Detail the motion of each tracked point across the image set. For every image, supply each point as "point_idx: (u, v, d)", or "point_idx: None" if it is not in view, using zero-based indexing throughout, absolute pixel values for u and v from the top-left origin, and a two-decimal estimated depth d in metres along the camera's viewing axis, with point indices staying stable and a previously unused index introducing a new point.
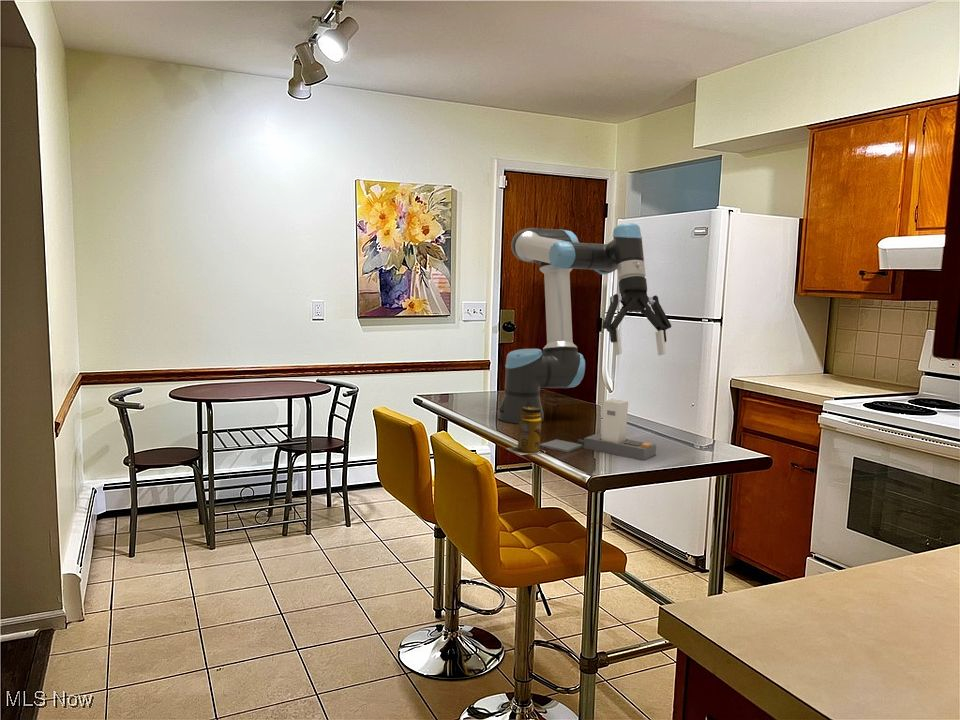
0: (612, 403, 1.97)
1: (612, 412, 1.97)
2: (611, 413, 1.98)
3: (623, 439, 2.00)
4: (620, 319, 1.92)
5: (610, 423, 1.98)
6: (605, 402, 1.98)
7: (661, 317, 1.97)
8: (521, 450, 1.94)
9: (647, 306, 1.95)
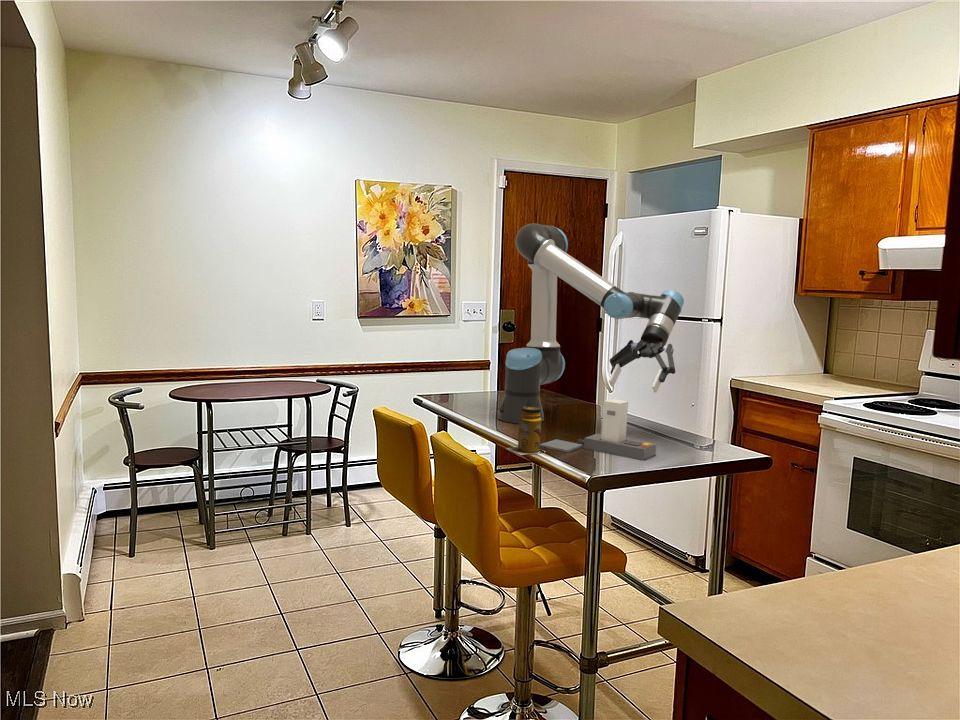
0: (612, 403, 1.97)
1: (612, 412, 1.97)
2: (611, 413, 1.98)
3: (623, 439, 2.00)
4: None
5: (610, 423, 1.98)
6: (605, 402, 1.98)
7: (621, 358, 2.16)
8: (521, 450, 1.94)
9: None
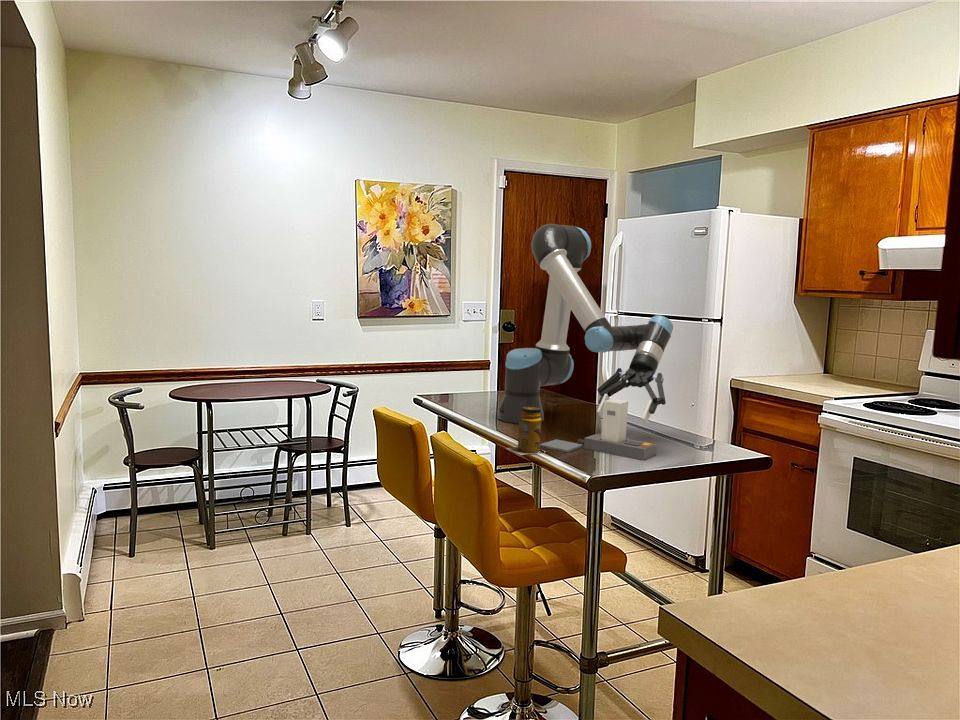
0: (612, 403, 1.97)
1: (612, 412, 1.97)
2: (611, 413, 1.98)
3: (623, 439, 2.00)
4: None
5: (610, 423, 1.98)
6: (605, 402, 1.98)
7: (609, 387, 2.10)
8: (521, 450, 1.94)
9: None
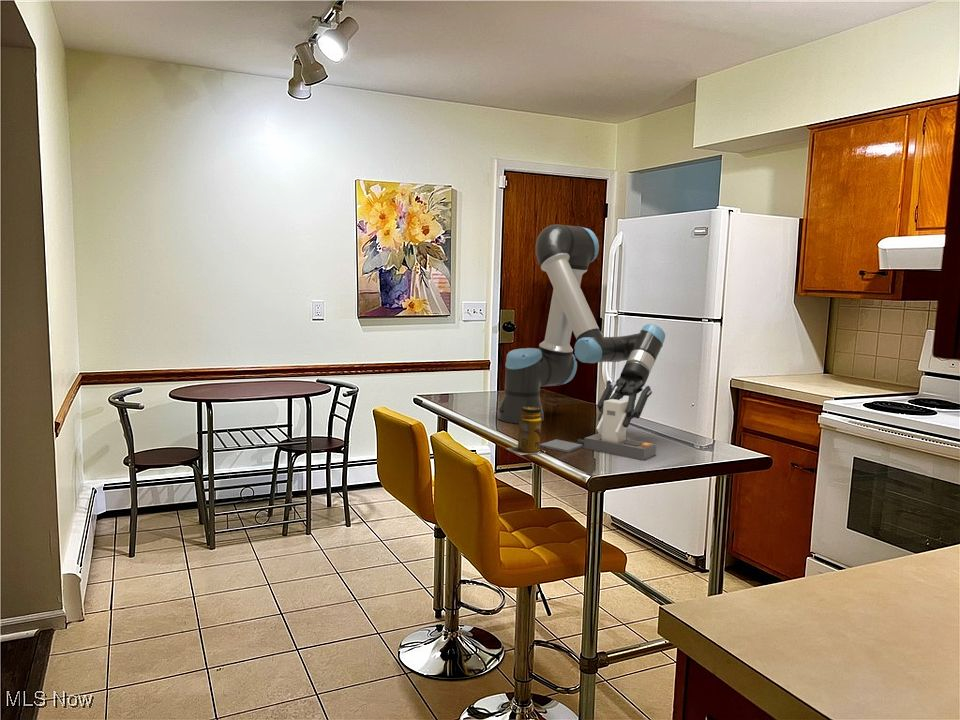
0: (612, 403, 1.97)
1: (612, 412, 1.97)
2: (611, 413, 1.98)
3: (623, 439, 2.00)
4: None
5: (610, 423, 1.98)
6: (605, 402, 1.98)
7: None
8: (521, 450, 1.94)
9: None
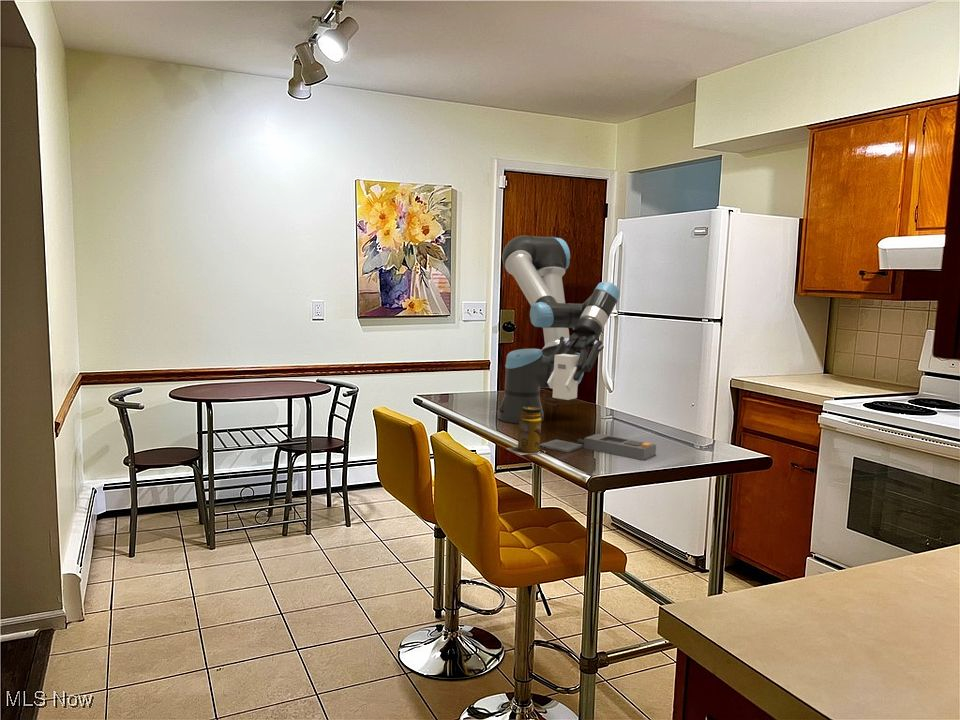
0: (562, 356, 1.97)
1: (563, 365, 1.97)
2: (561, 367, 1.97)
3: (574, 394, 1.99)
4: None
5: (560, 376, 1.98)
6: (556, 356, 1.98)
7: None
8: (521, 450, 1.94)
9: None
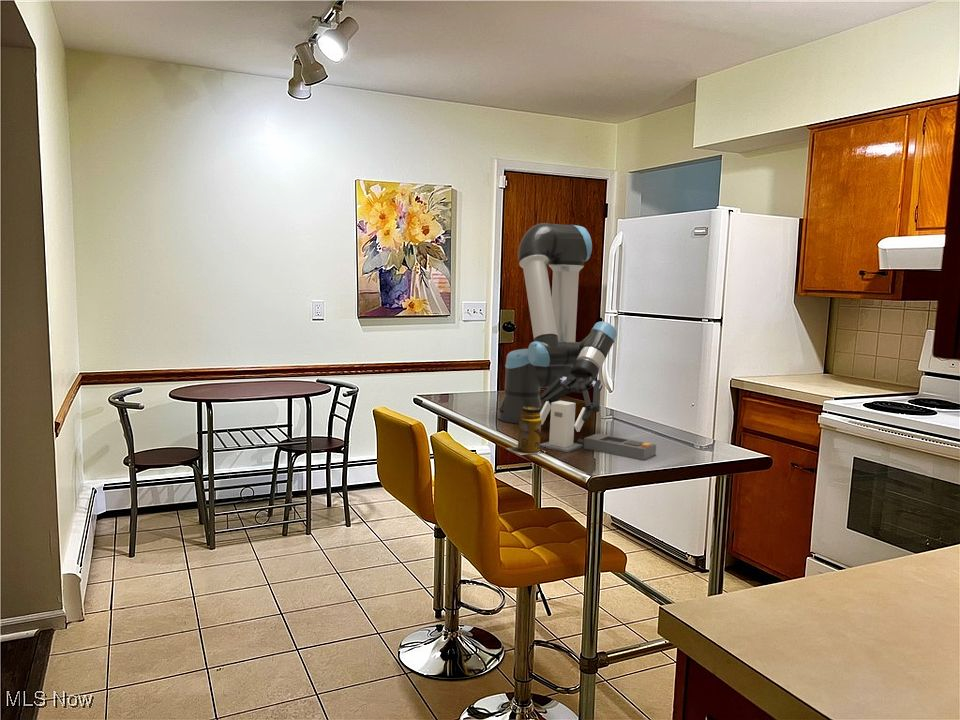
0: (559, 405, 1.99)
1: (559, 413, 1.99)
2: (558, 415, 1.99)
3: (570, 441, 2.01)
4: None
5: (557, 424, 2.00)
6: (552, 404, 2.00)
7: (551, 394, 2.09)
8: (521, 450, 1.94)
9: None
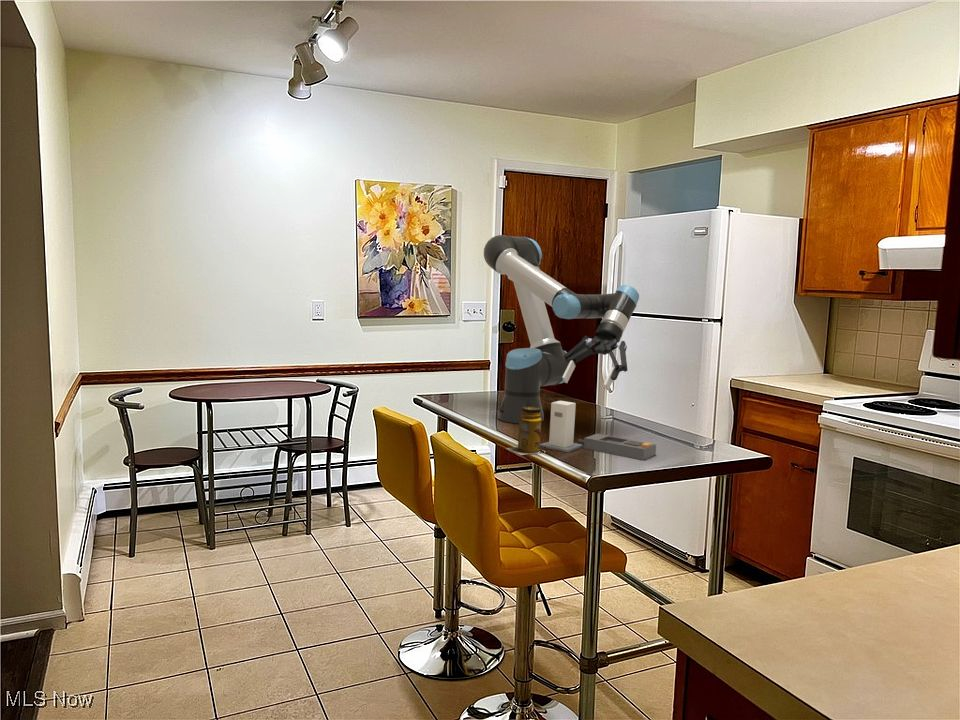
0: (559, 405, 1.99)
1: (559, 413, 1.99)
2: (558, 415, 1.99)
3: (570, 441, 2.01)
4: None
5: (557, 424, 2.00)
6: (552, 404, 2.00)
7: (575, 354, 2.18)
8: (521, 450, 1.94)
9: None
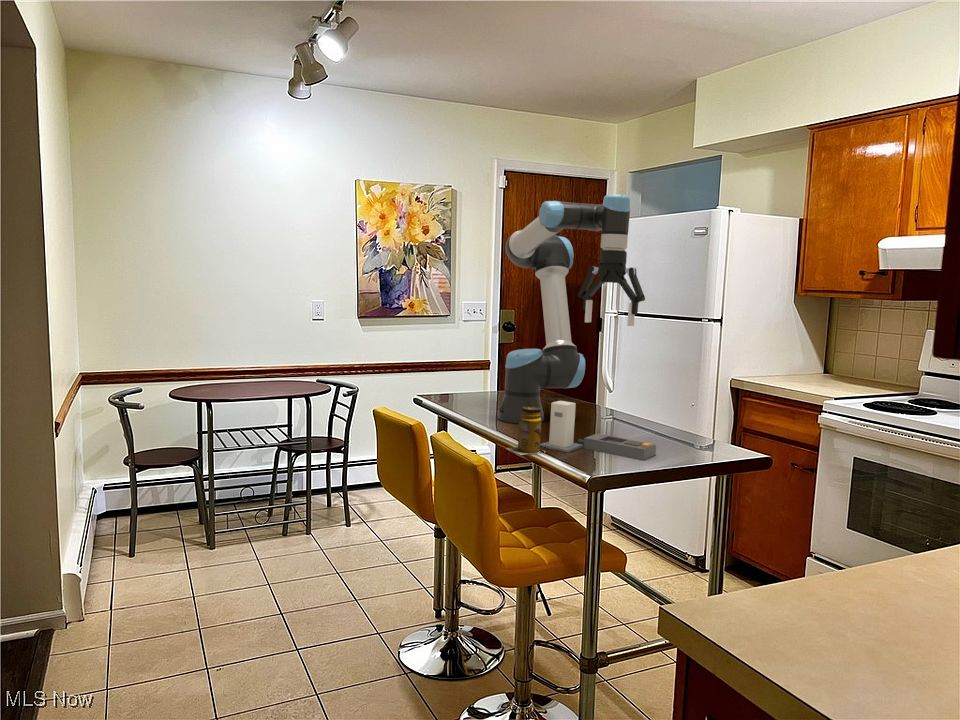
0: (559, 405, 1.99)
1: (559, 413, 1.99)
2: (558, 415, 1.99)
3: (570, 441, 2.01)
4: None
5: (557, 424, 2.00)
6: (552, 404, 2.00)
7: (588, 287, 2.11)
8: (521, 450, 1.94)
9: None
